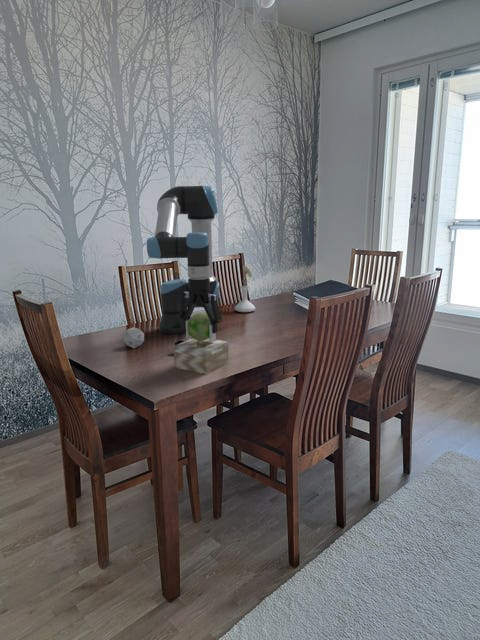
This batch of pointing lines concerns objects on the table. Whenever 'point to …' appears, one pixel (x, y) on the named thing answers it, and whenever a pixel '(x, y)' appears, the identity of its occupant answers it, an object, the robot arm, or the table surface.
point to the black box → (176, 344)
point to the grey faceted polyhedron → (133, 337)
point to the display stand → (200, 355)
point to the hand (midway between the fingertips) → (200, 339)
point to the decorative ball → (199, 326)
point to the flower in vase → (245, 296)
